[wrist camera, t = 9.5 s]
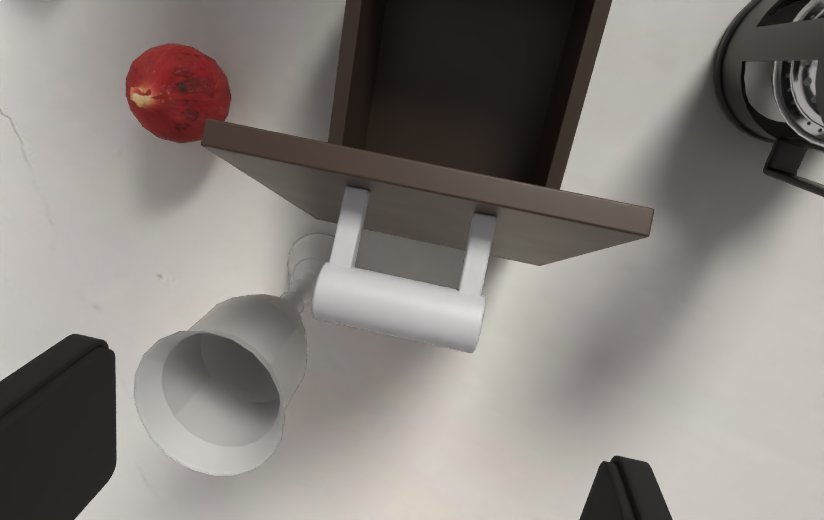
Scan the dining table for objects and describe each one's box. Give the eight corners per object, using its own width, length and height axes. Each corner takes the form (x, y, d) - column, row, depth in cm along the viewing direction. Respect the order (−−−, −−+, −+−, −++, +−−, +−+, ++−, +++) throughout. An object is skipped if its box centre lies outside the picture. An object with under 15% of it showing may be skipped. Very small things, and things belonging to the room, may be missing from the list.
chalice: (276, 213, 40) (126, 320, 23) (369, 223, 40) (285, 340, 23) (276, 306, 43) (140, 464, 26) (364, 317, 42) (284, 486, 25)
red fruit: (235, 38, 37) (172, 31, 29) (258, 127, 38) (204, 142, 31) (155, 55, 38) (73, 52, 30) (181, 141, 39) (110, 159, 32)
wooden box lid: (205, 117, 16) (164, 292, 15) (655, 208, 15) (620, 392, 15) (318, 204, 31) (298, 293, 31) (543, 251, 30) (525, 342, 30)
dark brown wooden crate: (384, -53, 34) (356, -86, 26) (591, -15, 33) (622, -37, 26) (350, 182, 39) (319, 210, 31) (530, 219, 38) (541, 256, 31)
